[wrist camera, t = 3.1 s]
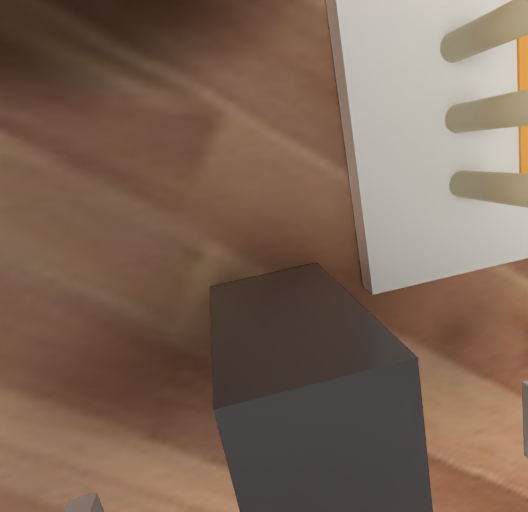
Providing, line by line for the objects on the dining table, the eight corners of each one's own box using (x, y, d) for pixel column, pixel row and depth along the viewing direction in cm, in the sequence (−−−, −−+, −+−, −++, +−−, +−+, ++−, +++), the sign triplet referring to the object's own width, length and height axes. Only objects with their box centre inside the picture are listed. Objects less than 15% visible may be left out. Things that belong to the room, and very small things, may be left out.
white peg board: (320, -40, 14) (383, -149, 9) (534, -73, 14) (701, -191, 9) (363, 287, 17) (427, 339, 12) (537, 246, 17) (663, 279, 13)
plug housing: (209, 286, 16) (213, 409, 8) (316, 262, 16) (417, 357, 8) (253, 470, 18) (289, 701, 10) (346, 445, 18) (446, 650, 11)
